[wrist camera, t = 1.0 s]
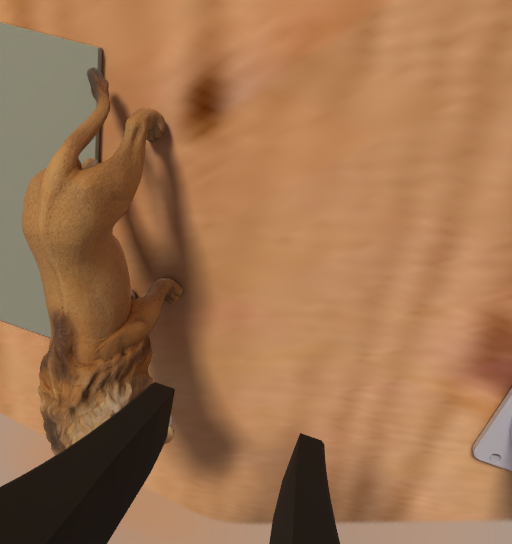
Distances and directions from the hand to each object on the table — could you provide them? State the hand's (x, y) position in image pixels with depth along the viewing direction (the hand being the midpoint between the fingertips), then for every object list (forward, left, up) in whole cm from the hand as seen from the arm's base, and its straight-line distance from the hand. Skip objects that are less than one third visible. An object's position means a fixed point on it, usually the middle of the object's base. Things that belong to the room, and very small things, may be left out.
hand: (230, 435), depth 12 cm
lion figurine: (+7, 0, -10) cm, 12 cm away
